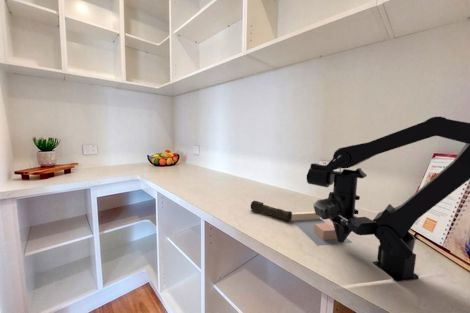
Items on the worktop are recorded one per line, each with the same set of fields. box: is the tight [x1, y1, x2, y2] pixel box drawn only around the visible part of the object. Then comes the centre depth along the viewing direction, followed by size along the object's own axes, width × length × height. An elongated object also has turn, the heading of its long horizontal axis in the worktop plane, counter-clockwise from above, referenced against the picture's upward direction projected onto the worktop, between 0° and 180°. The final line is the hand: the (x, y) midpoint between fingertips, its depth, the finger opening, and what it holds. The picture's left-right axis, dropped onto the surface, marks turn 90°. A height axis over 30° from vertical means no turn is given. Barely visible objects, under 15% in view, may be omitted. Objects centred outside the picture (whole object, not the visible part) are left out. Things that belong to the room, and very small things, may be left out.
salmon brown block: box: [314, 222, 337, 240], centre depth 63 cm, size 5×5×3 cm
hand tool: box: [250, 200, 293, 223], centre depth 80 cm, size 19×4×5 cm, turn 47°
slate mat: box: [290, 211, 353, 247], centre depth 68 cm, size 18×12×3 cm, turn 10°
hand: (340, 242), depth 56 cm, fingers closed
